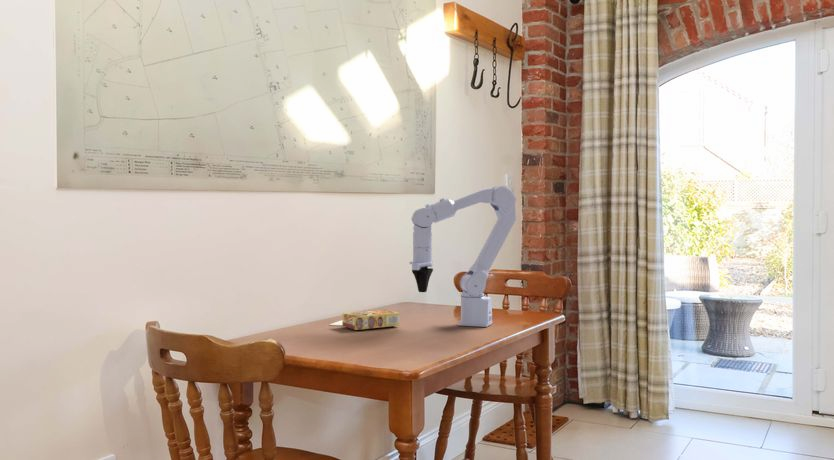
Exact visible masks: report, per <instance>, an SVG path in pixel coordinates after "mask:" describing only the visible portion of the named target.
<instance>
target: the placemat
mask: <svg viewBox="0 0 834 460" xmlns="http://www.w3.org/2000/svg"><path fill="white" fill-rule="evenodd" d="M328 325H329V326H332V327H344V326H343V325H342V319H341V320H338V321H335V322H332V323H330V324H328Z"/></svg>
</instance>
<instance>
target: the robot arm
mask: <svg viewBox="0 0 834 460" xmlns="http://www.w3.org/2000/svg"><path fill="white" fill-rule="evenodd" d="M516 202H517V199H516V197H515V194H514V192H513V190H512V188H510V187H509V186H507V185H500V186H494V187H488V188H484V189H479V190H477V191H475V192H471V193H470V194H467V195H465V196H462V197H459V198H458V199H455V200H452V199H449V198H444V197H443V198H440V199H439V201H437V202H435V203H432V204H425V207H422V208H417V209H416V210H415V211H414V212H413V214H412V217H411V221H412V224H413V227H412V228H413V232H412V238H413V239H412V245H413V246H412V248H413V249H412V250H413V251H412V261H409V265H411V271H412V272H411V273H412V274H413V276H414V279H415V282H416V287H417V290H418V292H419V293H427V290H428V286H429V281H430V278H431V276H432V274H433V272H434V268H432V267H433V237H432V236H433V234H432V233H433V232H432V224H433V223H434V224H436V223H439V222H441V221H445V220H447V219H449V218H452V217H454V216H455V215H456V212H458V211H459V210H462V209H464V208H468V207H471V206H474V205H477V204H480V203H482V204H489V205H491V207H492V208H493V209H494V213H495V214H496V217H497V220H496V222H495V224H494V226H493V227H492V230H491V231H490V233H489V235H488V237H487V239H486V240H485V243H483V246H482V249H481V250H480V252H479V253H478V256H477V258H476V260H475V262H474V263H473V264H472V265H471V266H470V267H469V268H468V271H467V272H466V273H465V274H463V275H462V276H461V278H460V280H459V287H460V288H461V290H462V292H461V294H460V321H459V322H458V323H457V324H456V326H459V327H460V326H461V327H464V326H465V327H466V326H467V327H482V328H483V327H484V328H485V327H486V328H487V327H490V325H492V324H493V300H492V297H491V296H485V293H484V292H485V290H486V287H487V286H486V284H487V280H488V277H489V274H490V273H489V272H490V269H491V268H492V265H493V263H494V262H495V259H496V257H497V256H498V255H499V252H500V250H501V249H502V247H503V245H504V243H505V242H506V239H507V237H508V236H509V233H510V232H511V229H513V226H514V224H515V222H516V220H517V219H516V218H517V217H516V216H517V215H516Z"/></svg>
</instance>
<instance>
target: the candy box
mask: <svg viewBox="0 0 834 460" xmlns="http://www.w3.org/2000/svg"><path fill="white" fill-rule="evenodd" d="M400 315H401V313H400V312H397V311H394V310H390V309H377V310H376V309H375V310H368V311H357V312H356V311H354V312H353V311H352V312H343V313H342V316H341V317H342V319H341V320H342V325H343V326H342V327H345V328H348V329H351V330H353V331H359V330H361V331H362V330H369V329H376V328H377V329H379V328H387V327H388V328H389V327H396V326H398V327H399V326H400V325H401V324H400V323H401V316H400Z"/></svg>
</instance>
